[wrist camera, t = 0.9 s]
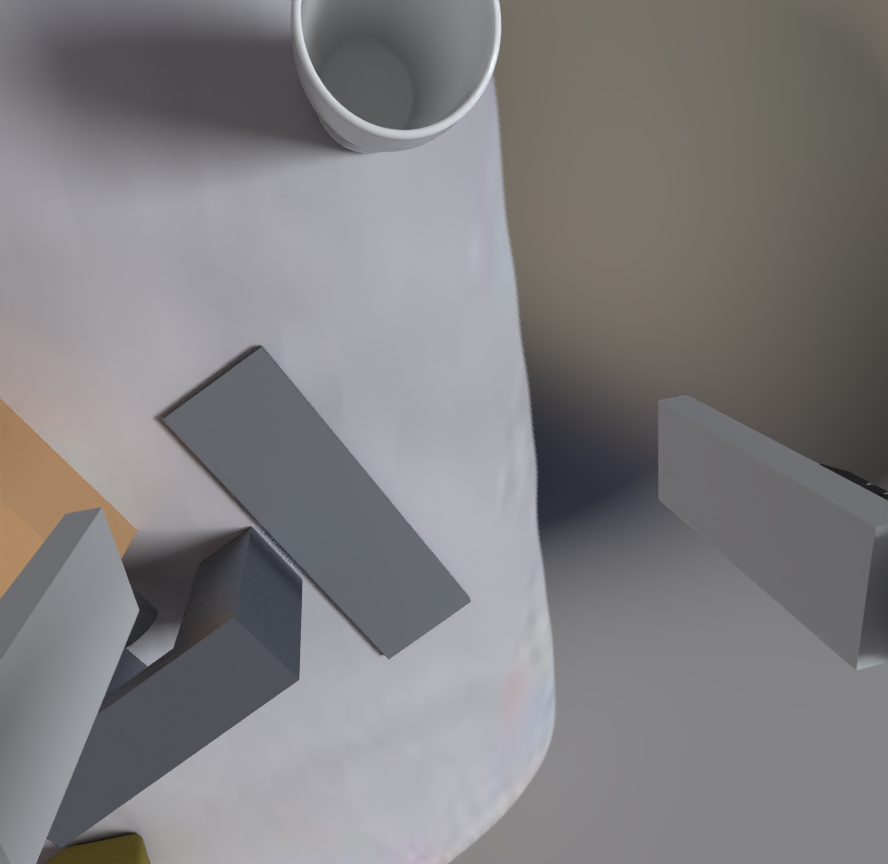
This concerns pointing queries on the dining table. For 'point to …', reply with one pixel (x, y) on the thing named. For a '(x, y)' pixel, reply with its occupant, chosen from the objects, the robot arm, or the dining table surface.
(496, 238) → the dining table surface
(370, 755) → the dining table surface
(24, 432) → the plug
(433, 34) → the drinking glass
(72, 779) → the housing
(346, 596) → the mat
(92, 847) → the flower pot
